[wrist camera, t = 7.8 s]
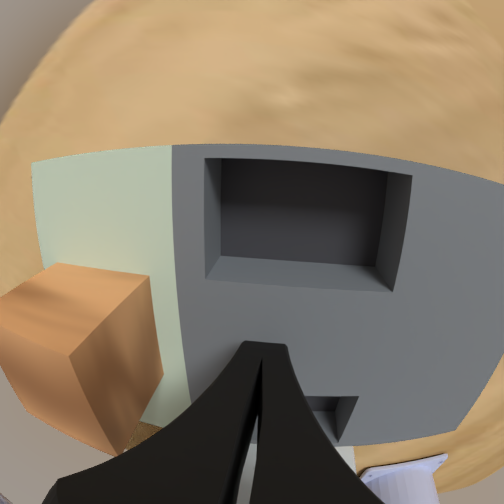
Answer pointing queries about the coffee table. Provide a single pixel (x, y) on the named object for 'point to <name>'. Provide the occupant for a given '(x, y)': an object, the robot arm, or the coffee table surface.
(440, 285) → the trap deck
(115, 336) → the orange block
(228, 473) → the robot arm
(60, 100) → the coffee table surface
